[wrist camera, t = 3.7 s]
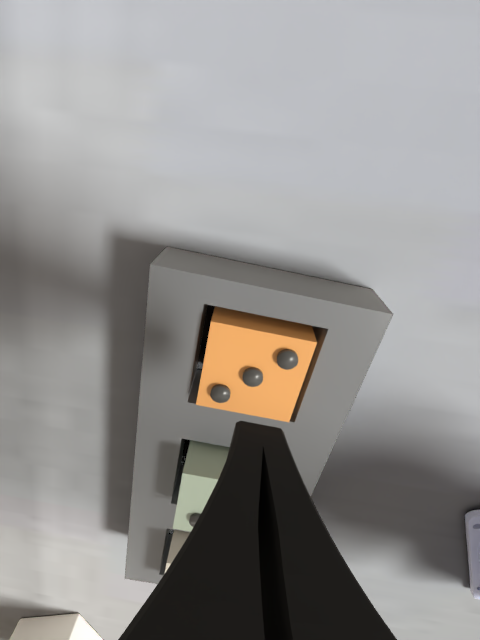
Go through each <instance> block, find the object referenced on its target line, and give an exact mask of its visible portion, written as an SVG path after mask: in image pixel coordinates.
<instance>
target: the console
mask: <svg viewBox="0 0 480 640" xmlns="http://www.w3.org/2000/svg"><path fill="white" fill-rule="evenodd" d="M208 305H212V306H217V307H222V308H227V309H232V310H237V311H242V312H247V313H252V314H257V315H262V316H267V317H272V318H277V319H282V320H287V321H292V322H297V323H301V324H306V325H311V326H312V327H313V331H314V334H315V337H316V340H317V344H316V347H315V350H314V353H313V356H312V359H311V362H310V364H309V367H308V370H307V373H306V376H305V379H304V381H303V384H302V387H301V390H300V393H299V396H298V398H297V401H296V404H295V407H294V410H293V413H292V415H291V418H290V421H289V422H285V421H279V420H274V419H269V418H263V417H258V416H253V415H247V414H242V413H237V412H232V411H226V410H221V409H216V408H210V407H205V406H200V405H196V401H197V396H198V390H199V385H200V379H201V374H202V370H198V369H197V365H198V360H199V354H200V348H201V342H202V336H203V330H204V325H205V319H206V313H207V307H208ZM392 316H393V313H392V312H391V311H390V310H389V309H388V307H387V306H386V305H385V304H384V302H383V301H382V300H381V299H380V298H379V296H378V295H377V294H376V293H375V291H374V290H373V289H369V288H364V287H359V286H354V285H349V284H345V283H340V282H335V281H330V280H325V279H321V278H316V277H311V276H306V275H301V274H297V273H292V272H287V271H282V270H277V269H273V268H268V267H263V266H258V265H253V264H249V263H244V262H239V261H234V260H229V259H225V258H220V257H215V256H210V255H205V254H201V253H196V252H191V251H186V250H181V249H177V248H172V247H166V248H165V249H164V250H163V251H162V252H161V253H160V254H159V256H158V257H157V258H156V259H155V260H154V261H153V262H152V263H151V264H150V272H149V284H148V296H147V309H146V321H145V333H144V346H143V358H142V371H141V383H140V395H139V408H138V420H137V432H136V445H135V457H134V469H133V482H132V494H131V506H130V519H129V531H128V544H127V556H126V568H125V579H130V580H136V581H142V582H149V583H155V584H158V583H159V582H160V580H161V579H162V577H163V576H164V574H165V569H166V563H167V558H168V554H169V550H170V545H171V541H172V536H173V535H172V534H169V529H173V524H174V518H175V513H176V507H177V501H178V496H179V490H180V484H181V479H182V473H183V469H184V465H181V459H182V453H183V447H184V441H185V439H187V440H193V441H198V442H204V443H209V444H215V445H220V446H225V447H230V444H231V440H232V436H233V432H234V429H235V425H236V422H239V421H246V422H251V423H256V424H261V425H267V426H272V427H277V428H281V429H282V430H283V432H284V435H285V438H286V440H287V443H288V446H289V448H290V451H291V454H292V456H293V459H294V461H295V463H296V466H297V468H298V471H299V473H300V475H301V477H302V480H303V482H304V484H305V486H306V488H307V490H308V493H309V495H310V497H311V495H312V493H313V491H314V489H315V486H316V484H317V482H318V480H319V478H320V475H321V473H322V471H323V469H324V467H325V464H326V462H327V460H328V458H329V455H330V453H331V451H332V449H333V447H334V444H335V442H336V440H337V438H338V436H339V433H340V431H341V429H342V427H343V424H344V422H345V420H346V418H347V416H348V413H349V411H350V409H351V407H352V405H353V402H354V400H355V398H356V396H357V393H358V391H359V389H360V387H361V385H362V382H363V380H364V378H365V376H366V374H367V371H368V369H369V367H370V365H371V362H372V360H373V358H374V356H375V354H376V351H377V349H378V347H379V345H380V343H381V340H382V338H383V336H384V334H385V331H386V329H387V327H388V325H389V323H390V320H391V318H392ZM173 530H178V529H173ZM179 531H184V530H179ZM184 532H189V531H184Z"/></svg>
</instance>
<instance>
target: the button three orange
mask: <svg viewBox="0 0 480 640" xmlns="http://www.w3.org/2000/svg"><path fill="white" fill-rule="evenodd" d="M316 344H317V340H316V337H315V334H314V331H313V327H312V326H311V325H306V324H301V323H297V322H292V321H287V320H282V319H277V318H272V317H267V316H262V315H257V314H252V313H247V312H242V311H237V310H232V309H227V308H222V307H217V306H215V309H214V312H213V316H212V319H211V324H210V329H209V335H208V340H207V346H206V351H205V357H204V363H203V368H202V374H201V379H200V385H199V390H198V396H197V401H196V405H200V406H205V407H210V408H216V409H221V410H226V411H232V412H237V413H242V414H247V415H253V416H258V417H263V418H269V419H274V420H279V421H285V422H289V421H290V418H291V415H292V413H293V410H294V407H295V404H296V401H297V398H298V396H299V393H300V390H301V387H302V384H303V381H304V379H305V376H306V373H307V370H308V367H309V364H310V362H311V359H312V356H313V353H314V350H315V347H316Z"/></svg>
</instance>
